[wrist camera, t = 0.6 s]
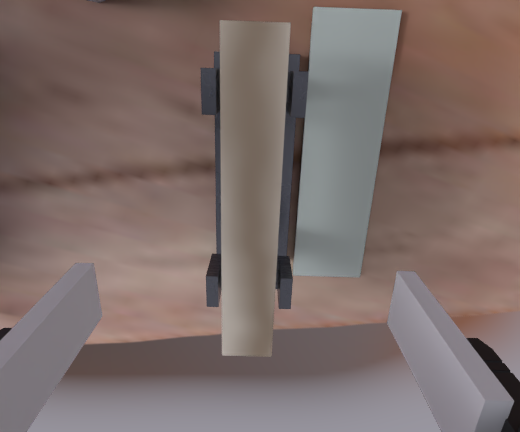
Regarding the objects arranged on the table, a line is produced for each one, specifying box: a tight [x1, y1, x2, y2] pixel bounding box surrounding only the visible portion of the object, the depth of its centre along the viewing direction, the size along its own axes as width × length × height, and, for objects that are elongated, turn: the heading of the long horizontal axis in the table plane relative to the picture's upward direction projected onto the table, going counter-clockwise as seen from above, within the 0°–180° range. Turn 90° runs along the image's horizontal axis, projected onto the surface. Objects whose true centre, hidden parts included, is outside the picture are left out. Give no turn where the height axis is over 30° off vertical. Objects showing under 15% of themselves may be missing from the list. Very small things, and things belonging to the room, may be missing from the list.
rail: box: [220, 20, 291, 357], centre depth 28 cm, size 4×24×6 cm, turn 178°
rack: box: [201, 51, 309, 309], centre depth 33 cm, size 8×22×12 cm, turn 178°
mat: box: [293, 7, 402, 277], centre depth 38 cm, size 8×28×1 cm, turn 178°
